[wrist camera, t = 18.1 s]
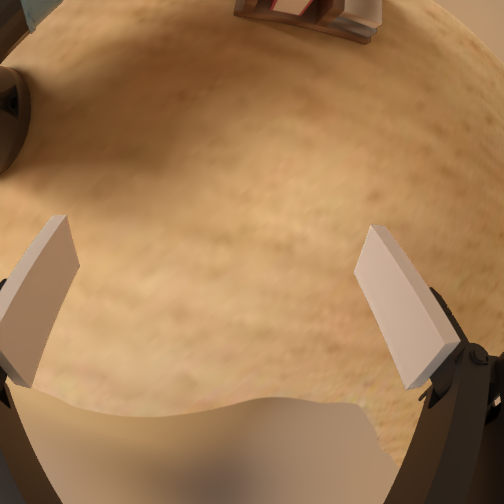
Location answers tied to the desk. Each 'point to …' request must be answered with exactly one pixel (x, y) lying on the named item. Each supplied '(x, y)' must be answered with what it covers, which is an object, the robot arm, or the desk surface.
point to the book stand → (324, 16)
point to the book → (290, 6)
